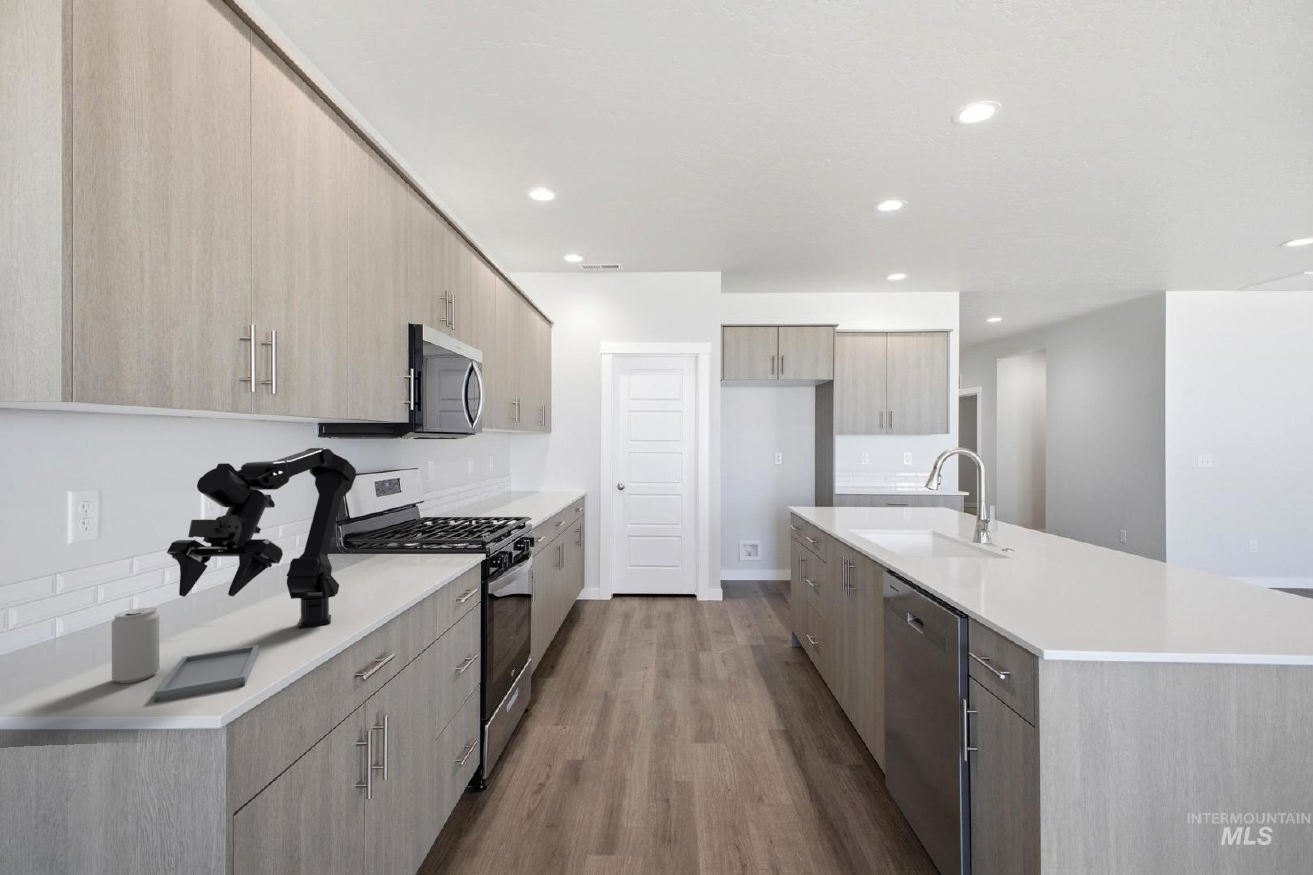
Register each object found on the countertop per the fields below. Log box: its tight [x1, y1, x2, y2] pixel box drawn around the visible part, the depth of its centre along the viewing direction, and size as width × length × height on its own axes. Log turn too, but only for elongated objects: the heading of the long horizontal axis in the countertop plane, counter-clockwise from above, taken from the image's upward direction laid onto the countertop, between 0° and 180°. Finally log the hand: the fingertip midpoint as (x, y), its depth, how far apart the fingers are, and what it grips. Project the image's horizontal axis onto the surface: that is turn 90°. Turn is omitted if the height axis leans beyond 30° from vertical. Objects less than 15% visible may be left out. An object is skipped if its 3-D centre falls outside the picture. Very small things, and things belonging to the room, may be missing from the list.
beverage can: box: [111, 607, 161, 684], centre depth 102 cm, size 6×6×12 cm
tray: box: [154, 644, 260, 703], centre depth 103 cm, size 18×12×2 cm, turn 29°
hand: (206, 595), depth 103 cm, fingers open, 9 cm apart
